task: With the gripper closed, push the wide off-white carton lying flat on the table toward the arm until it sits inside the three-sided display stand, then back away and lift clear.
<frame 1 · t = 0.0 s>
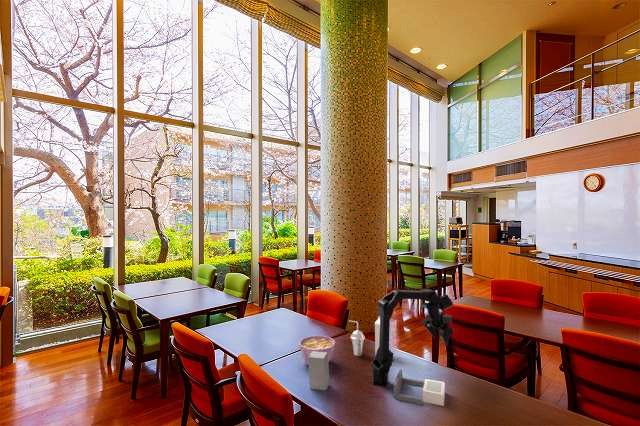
hand: (441, 341, 167), 15 cm above the table, tool pointing down, fingers open, 9 cm apart
cup with straw: (357, 354, 189), on the table
display stand: (411, 392, 148), on the table
bowl of food: (317, 363, 179), on the table
skincare box: (319, 387, 154), on the table
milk: (382, 355, 187), on the table
carton: (434, 397, 144), on the table
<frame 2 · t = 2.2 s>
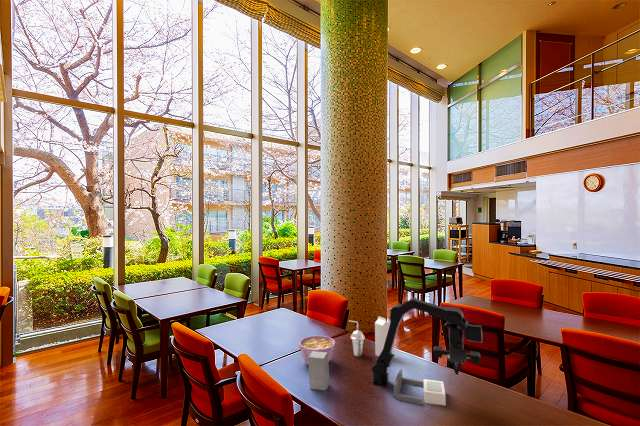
hand: (456, 374, 140), 12 cm above the table, tool pointing down, fingers closed
nothing on the table moved.
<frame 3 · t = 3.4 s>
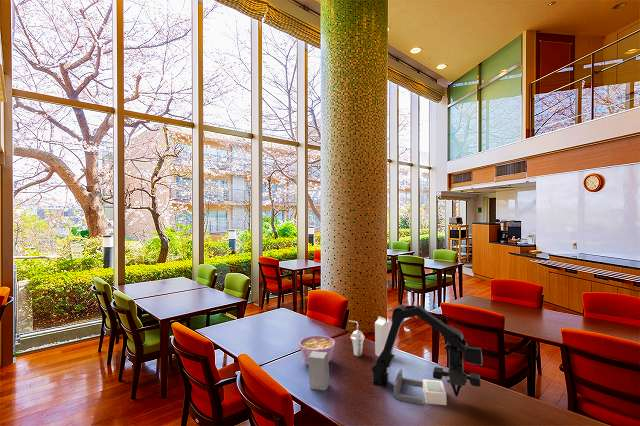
hand: (456, 395, 140), 2 cm above the table, tool pointing down, fingers closed
nothing on the table moved.
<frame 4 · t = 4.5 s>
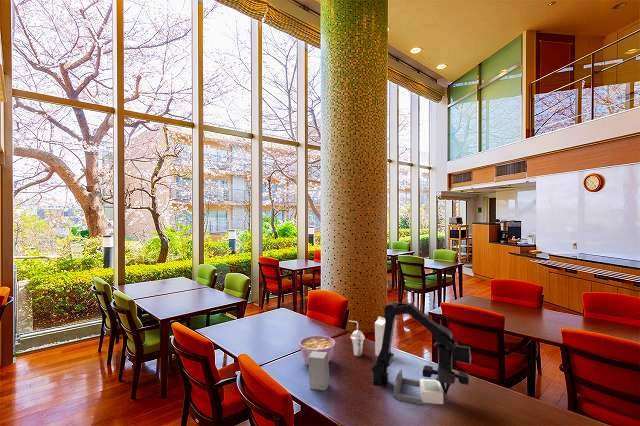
hand: (445, 393, 142), 2 cm above the table, tool pointing down, fingers closed
carton: (431, 396, 145), on the table
everything else where it was.
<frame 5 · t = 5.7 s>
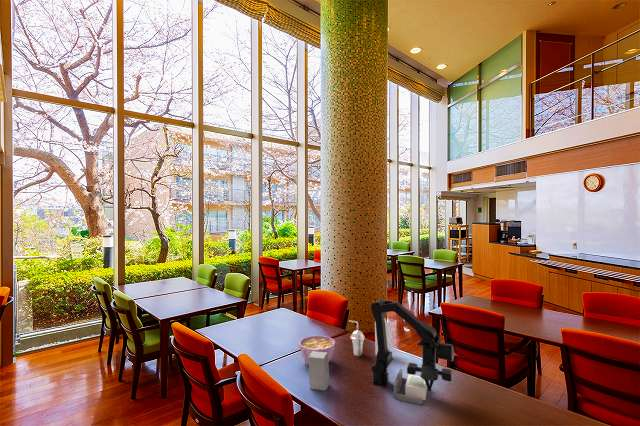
hand: (429, 390, 145), 2 cm above the table, tool pointing down, fingers closed
carton: (416, 392, 149), on the table, touching gripper
everything else where it was.
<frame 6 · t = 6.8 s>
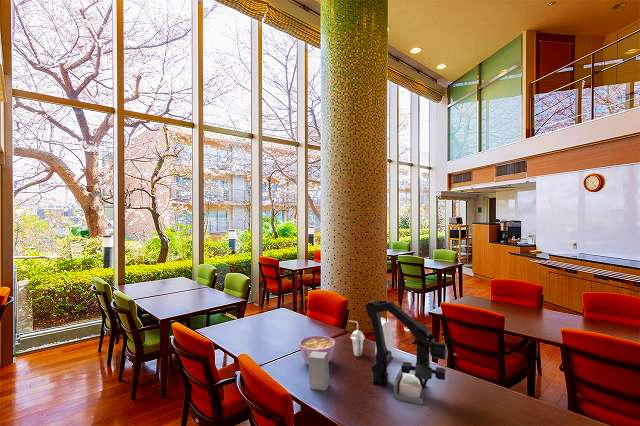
hand: (423, 389, 146), 2 cm above the table, tool pointing down, fingers closed
carton: (411, 391, 150), on the table
everything else where it was.
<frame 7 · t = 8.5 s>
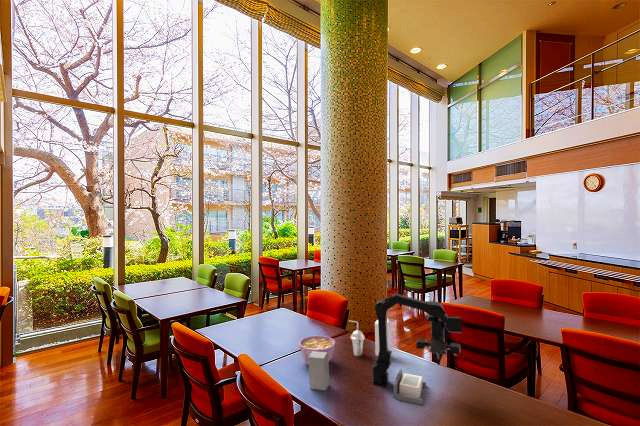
hand: (438, 364, 149), 12 cm above the table, tool pointing down, fingers closed
nothing on the table moved.
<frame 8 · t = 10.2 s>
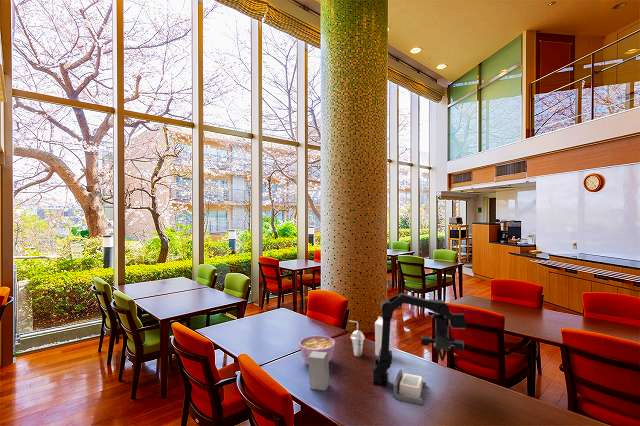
hand: (442, 360, 153), 12 cm above the table, tool pointing down, fingers closed
nothing on the table moved.
at the end: carton 1.4 cm off-centre on the display stand, point 0.0 cm above the display stand's base; carton tilted 0°; carton moved 10.3 cm from its start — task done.
